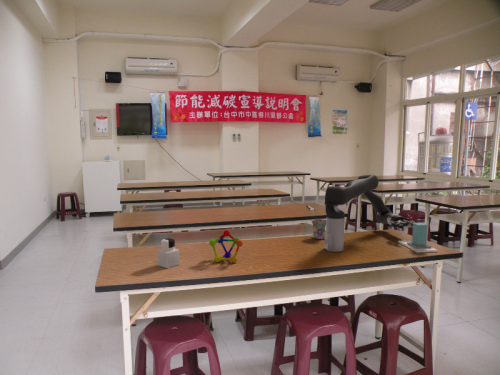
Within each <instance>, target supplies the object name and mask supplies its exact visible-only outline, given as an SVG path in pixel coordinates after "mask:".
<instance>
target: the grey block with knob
mask: <svg viewBox="0 0 500 375" xmlns="http://www.w3.org/2000/svg"><path fill="white" fill-rule="evenodd" d="M175 242H176V240H175V239H174V238H170V237H169V238H163V239H161V241H160V249H157V250H156V255H157V258H156V259H157V260H156V261H157V266H158V267H160V268H165V269H169V268H173V267H177V266H178V265H180V249H179V248H176V246H175V245H176V243H175Z"/></svg>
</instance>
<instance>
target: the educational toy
mask: <svg viewBox="0 0 500 375" xmlns="http://www.w3.org/2000/svg"><path fill="white" fill-rule="evenodd" d="M226 237H229V238H230V239H228V238H226ZM224 238H225V239H224ZM224 242H230V243H231V242H233V243H232V244H231V246H230V248H229V250H227V248H226V246H225V244H224ZM217 243H218V244H220V245H221V247H222V248H223V251H224V255H221V256H220V255H218V253H217V249H216V244H217ZM208 244H209V245H210V247H212V250H213V253H214V255H215V256H214V258H213V261H214V262H215V263H220V262H221V261H231V263H232V264H236V263H237V262H238V258H237V255H238V252H239V250H240V248H241V247H242V246H243V244H244V243H243V240H241V239H239V237H235V236H232V234H231V232H230V230H229V229H224V231H223V234H221V235H219V237H216V238H215V239H213V238H211V239H210V240H209V241H208ZM235 246H236V250H235V252H234V254H233V256H232V253H231V252H232V251H233V249H234V247H235Z"/></svg>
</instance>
